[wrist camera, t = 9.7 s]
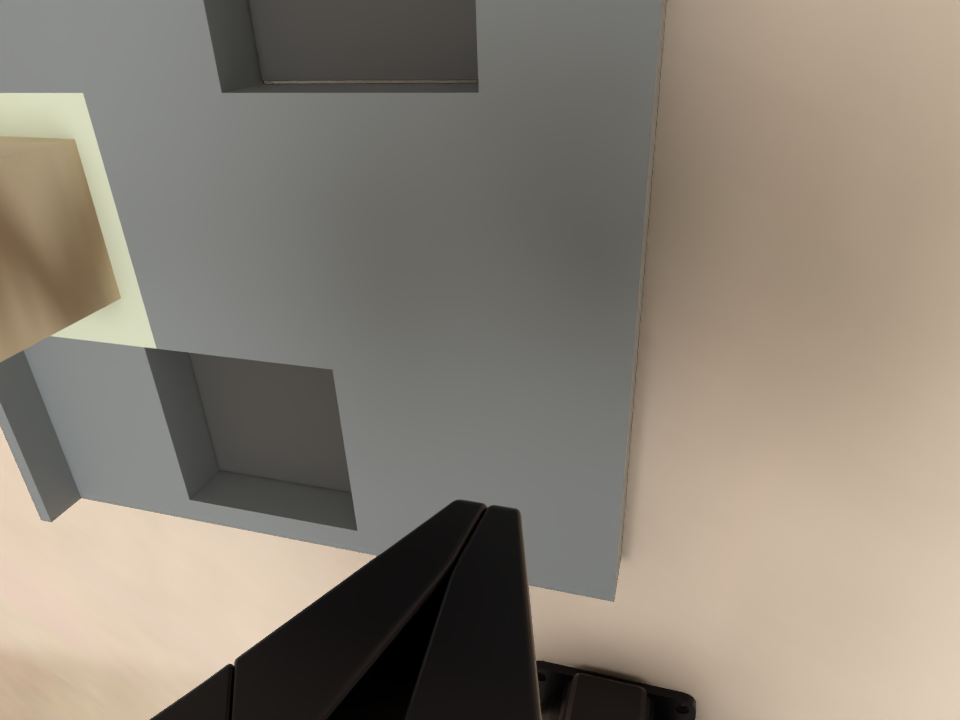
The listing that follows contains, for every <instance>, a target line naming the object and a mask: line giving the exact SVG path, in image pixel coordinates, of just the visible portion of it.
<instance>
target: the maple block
mask: <svg viewBox="0 0 960 720" xmlns="http://www.w3.org/2000/svg"><path fill="white" fill-rule="evenodd" d="M119 299H121V296H120V293H119V289H118V286H117V283H116V279H115V276H114V272H113V269H112V265H111V262H110V259H109V255H108V252H107V248H106V245H105V241H104V238H103V234H102V231H101V228H100V224H99V221H98V217H97V214H96V210H95V207H94V204H93V200H92V197H91V193H90V190H89V186H88V183H87V179H86V176H85V173H84V169H83V166H82V162H81V159H80V155H79V152H78V148H77V145H76V142H75V139H58V138H34V137H9V136H0V362H2V361H4V360H6V359H8V358H10V357H11V356H13V355H15V354H17V353H19V352H21V351H23V350H25V349H27V348H28V347H30V346H32V345H34V344H36V343H38V342H40V341H42V340H43V339H45V338H47V337H49V336H51V335H53V334H55V333H57V332H59V331H60V330H62V329H64V328H66V327H68V326H70V325H72V324H74V323H76V322H77V321H79V320H81V319H83V318H85V317H87V316H89V315H91V314H93V313H94V312H96V311H98V310H100V309H102V308H104V307H106V306H108V305H110V304H111V303H113V302H115V301H117V300H119Z"/></svg>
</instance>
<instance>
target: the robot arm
mask: <svg viewBox="0 0 960 720" xmlns="http://www.w3.org/2000/svg"><path fill="white" fill-rule="evenodd" d="M539 672H540V673H539ZM542 673H543V674H542ZM682 705H684V706H682ZM695 715H696V701H695V699H694V698H693V697H692V696H690V695H689V694H686V693H683V692H679V691H674V690H670V689H665V688H661V687H656V686H652V685H647V684H643V683H638V682H634V681H629V680H625V679H621V678H616V677H612V676H607V675H603V674H598V673H594V672H589V671H585V670H580V669H576V668H571V667H567V666H562V665H558V664H553V663H549V662H544V661H536V656H535V646H534V636H533V626H532V616H531V606H530V596H529V586H528V576H527V566H526V556H525V546H524V536H523V526H522V517H521V512H520V510H518V509H516V508H511V507H505V506H499V505H491V506H489V507H487V506H486V505H485V504H484V503H480V502H474V501H468V500H462V499H458V500H455V501H453V502H451V503H450V504H448V505H447V506H446V507H444V508H443V509H442V510H440V511H439V512H437V513H436V514H435V515H433V516H432V517H431V518H429V519H428V520H426V521H425V522H424V523H422V524H421V525H420V526H418V527H417V528H415V529H414V530H413V531H411V532H410V533H409V534H407V535H406V536H404V537H403V538H402V539H400V540H399V541H398V542H396V543H395V544H393V545H392V546H391V547H389V548H388V549H387V550H385V551H384V552H382V553H381V554H380V555H378V556H377V557H376V558H374V559H373V560H371V561H370V562H369V563H367V564H366V565H365V566H363V567H362V568H360V569H359V570H358V571H356V572H355V573H354V574H352V575H351V576H349V577H348V578H347V579H345V580H344V581H343V582H341V583H340V584H338V585H337V586H336V587H334V588H333V589H332V590H330V591H329V592H327V593H326V594H325V595H323V596H322V597H320V598H319V599H318V600H316V601H315V602H314V603H312V604H311V605H309V606H308V607H307V608H305V609H304V610H303V611H301V612H300V613H298V614H297V615H296V616H294V617H293V618H292V619H290V620H289V621H287V622H286V623H285V624H283V625H282V626H281V627H279V628H278V629H276V630H275V631H274V632H272V633H271V634H270V635H268V636H267V637H265V638H264V639H263V640H261V641H260V642H259V643H257V644H256V645H254V646H253V647H252V648H250V649H249V650H248V651H246V652H245V653H243V654H242V655H241V656H239V657H238V658H237V659H236V660H235V662H234V665H232V664H228V665H226V666H225V667H224V668H222V669H221V670H220V671H218V672H217V673H215V674H214V675H213V676H211V677H210V678H209V679H207V680H206V681H204V682H203V683H202V684H200V685H199V686H197V687H196V688H195V689H193V690H192V691H190V692H189V693H187V694H186V695H185V696H183V697H182V698H180V699H179V700H177V701H176V702H174V703H173V704H172V705H170V706H169V707H167V708H166V709H164V710H163V711H161V712H160V713H159V714H157V715H156V716H154V717H153V718H151V719H150V720H695Z"/></svg>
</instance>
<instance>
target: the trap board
mask: <svg viewBox="0 0 960 720" xmlns="http://www.w3.org/2000/svg"><path fill="white" fill-rule="evenodd" d="M666 2H667V0H0V136H9V137H34V138H58V139H75V142H76V145H77V148H78V152H79V155H80V159H81V162H82V166H83V169H84V173H85V176H86V179H87V183H88V186H89V190H90V193H91V197H92V200H93V204H94V207H95V210H96V214H97V217H98V221H99V224H100V228H101V231H102V234H103V238H104V241H105V245H106V248H107V252H108V255H109V259H110V262H111V265H112V269H113V272H114V276H115V279H116V283H117V286H118V289H119V293H120V296H121V299H119V300H117V301H115V302H113V303H111V304H110V305H108V306H106V307H104V308H102V309H100V310H98V311H96V312H94V313H93V314H91V315H89V316H87V317H85V318H83V319H81V320H79V321H77V322H76V323H74V324H72V325H70V326H68V327H66V328H64V329H62V330H60V331H59V332H57V333H55V334H53V335H51V336H49V337H47V338H45V339H43V340H42V341H40V342H38V343H36V344H34V345H32V346H30V347H28V348H27V349H25V350H23V351H21V352H19V353H17V354H15V355H13V356H11V357H10V358H8V359H6V360H4V361H2V362H0V426H1V428H2V431H3V433H4V435H5V438H6V440H7V442H8V445H9V447H10V449H11V451H12V454H13V456H14V458H15V461H16V463H17V465H18V468H19V470H20V472H21V475H22V477H23V479H24V481H25V484H26V486H27V488H28V491H29V493H30V495H31V498H32V500H33V502H34V504H35V507H36V509H37V511H38V514H39V516H40V518H41V520H43V521H48V522H52V521H53V520H55V519H56V518H57V517H58V516H60V515H61V514H62V513H63V512H64V511H66V510H67V509H68V508H69V507H71V506H72V505H73V504H74V503H76V502H77V501H78V500H79V499H80V498H84V499H89V500H94V501H99V502H105V503H110V504H115V505H120V506H125V507H130V508H135V509H141V510H146V511H151V512H156V513H161V514H166V515H171V516H176V517H182V518H187V519H192V520H197V521H202V522H207V523H212V524H218V525H223V526H228V527H233V528H238V529H243V530H248V531H254V532H259V533H264V534H269V535H274V536H279V537H284V538H289V539H295V540H300V541H305V542H310V543H315V544H320V545H325V546H331V547H336V548H341V549H346V550H351V551H356V552H361V553H366V554H372V555H377V556H378V555H380V554H381V553H382V552H384V551H385V550H387V549H388V548H389V547H391V546H392V545H393V544H395V543H396V542H398V541H399V540H400V539H402V538H403V537H404V536H406V535H407V534H409V533H410V532H411V531H413V530H414V529H415V528H417V527H418V526H420V525H421V524H422V523H424V522H425V521H426V520H428V519H429V518H431V517H432V516H433V515H435V514H436V513H437V512H439V511H440V510H442V509H443V508H444V507H446V506H447V505H448V504H450V503H451V502H453V501H455V500H458V499H462V500H468V501H474V502H480V503H484V504H485V505H486V506H487V507H489V506H491V505H499V506H505V507H511V508H516V509H518V510H520V512H521V517H522V526H523V536H524V546H525V556H526V566H527V576H528V585H531V586H536V587H541V588H546V589H551V590H557V591H562V592H567V593H572V594H577V595H582V596H587V597H592V598H598V599H603V600H608V601H613V602H614V599H615V592H616V586H617V580H618V573H619V567H620V561H621V550H622V538H623V526H624V514H625V501H626V489H627V477H628V465H629V453H630V441H631V428H632V416H633V404H634V392H635V380H636V367H637V355H638V343H639V331H640V319H641V306H642V294H643V282H644V270H645V258H646V245H647V233H648V221H649V209H650V197H651V185H652V172H653V160H654V148H655V136H656V124H657V111H658V99H659V87H660V75H661V63H662V50H663V38H664V26H665V14H666ZM304 80H478V83H310V84H264V82H263V81H304Z"/></svg>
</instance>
